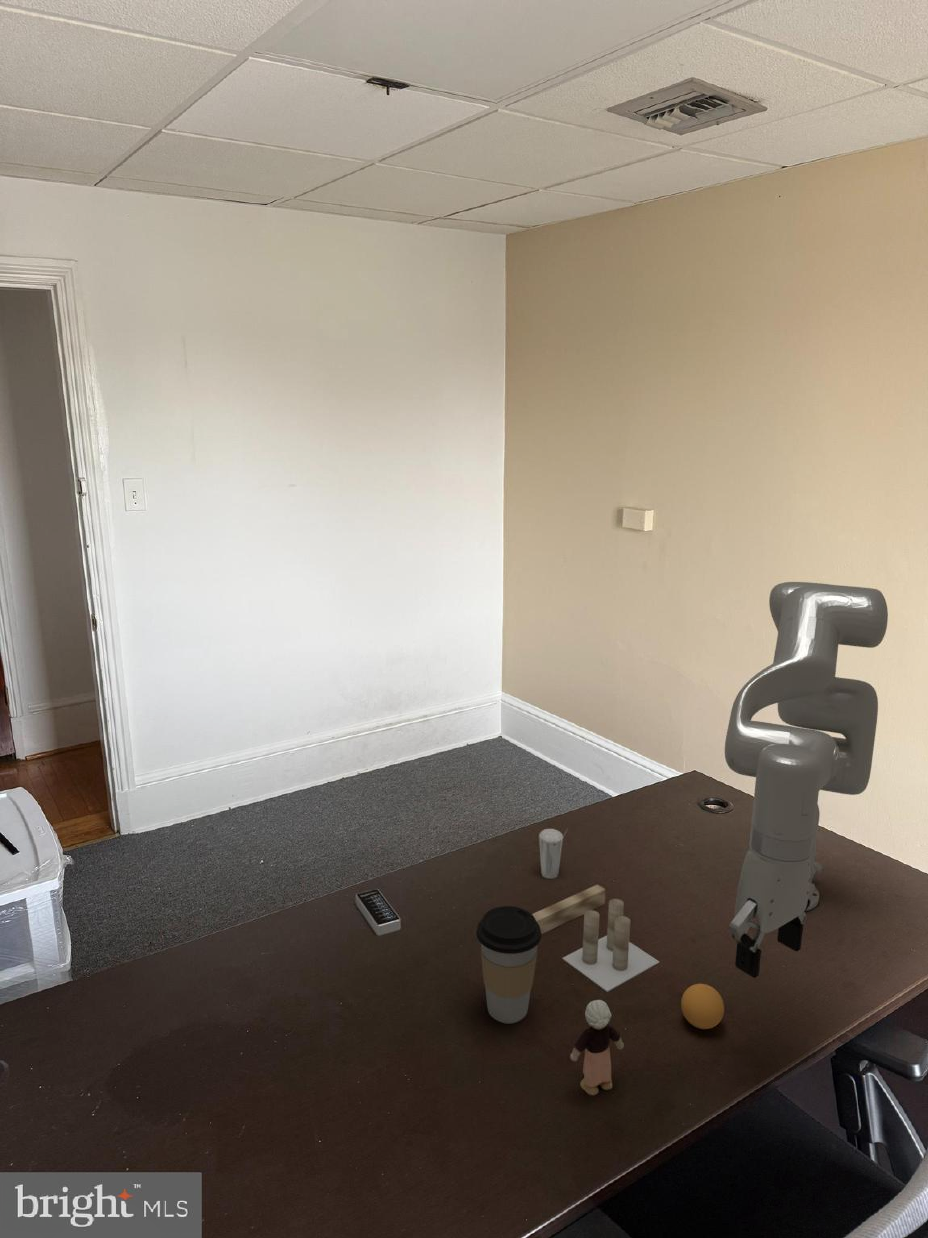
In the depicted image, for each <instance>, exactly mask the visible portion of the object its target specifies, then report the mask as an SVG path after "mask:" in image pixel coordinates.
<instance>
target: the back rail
mask: <svg viewBox="0 0 928 1238" xmlns="http://www.w3.org/2000/svg"><path fill="white" fill-rule="evenodd" d="M605 904H606V888H604V887H603V886H601V885H599V884H596V885H593V886H590V887H589V888H587V889H585V890H583V891H580V892H577V893H575V894H574V895H571V896H569V897H567V898H564V899H563V900H560V901H558V902H555V903H554V904H552V905H550V906H547V907H545V908H543V909H541V910H540V909H539V910H538V911H536V912H533V913H531V914H532V915H533V916H534V918H535V920H536V921H537V923H538V924H539V926H540V929H541V935H543V934H546V933H547V932H549V931H552V930H553V929H556V928H557V927H559V926H562V925H564V924H566V923H568V922H570V921H572V920H574V919H577V918H579V917H581V916H583V915H584V913H585V912H586V911H589V910H592V911H594V910H596V909H598V908H600V907H601V906H604V905H605Z"/></svg>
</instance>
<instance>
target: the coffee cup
mask: <svg viewBox="0 0 928 1238" xmlns="http://www.w3.org/2000/svg"><path fill="white" fill-rule="evenodd" d="M532 914H533V913H531V912H529V911H528V910H526V909H524V908H522V907H517V906H511V905H503V906H497V907H494V908H491V909H489V910H488V911H486V912H485V914H483V916H482V918H481V919H480V921H479V922H478V924H477V928H476V932H475V933H476V938H477V940H478V942H479V943H480V945H481V946H480V957H481V966H482V967H481V968H482V977H483V984H484V988H485V996H486V998H485V999H486V1006H487V1011H488V1012H487V1013H488V1014H489V1016H491V1017H492V1018H493V1019H494V1020H496V1021H497V1022H500V1023H503V1024H507V1025H508V1024H510V1025H511V1024H515V1023H517V1022H520V1021H521V1020H523V1019H525V1017H526V1016H527V1014H528V1010H529V1003H530V999H531V996H530V995H531V990H532V987H533V985H534V984H533V983H534V979H535V977H534V976H535V972H536V971H535V970H536V965H537V964H536V962H537V957H538V956H537V955H538V945H539V943H540V942H541V940H542V934H541V929H540V926H539V924H538V923H537V921H536V920H535V918H534V916H533V915H532Z"/></svg>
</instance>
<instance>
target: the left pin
mask: <svg viewBox="0 0 928 1238" xmlns="http://www.w3.org/2000/svg"><path fill="white" fill-rule="evenodd" d="M583 915H584V916H583V917H584V918H583V935H582V936H583V937H582V948H583V953H582V961H583V962H584V963H586V964H589V965H593V964H595V963H596V962H597V954H598V940H599V931H600V930H599V929H600V913H599V912H598V911H596V910H589V911H586V912H585V913H584V914H583Z"/></svg>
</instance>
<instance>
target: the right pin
mask: <svg viewBox="0 0 928 1238" xmlns="http://www.w3.org/2000/svg"><path fill="white" fill-rule="evenodd" d="M624 906H625V905H624V901H623V900H622V899H618V898H612V899H609V900H608V912H607V930H606V931H607V933H606V936H607V946H606V947H607V949H608V950H610V951H612V952H613V946H614V928H615V918H616V917H618V916H624V909H625V908H624Z"/></svg>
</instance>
